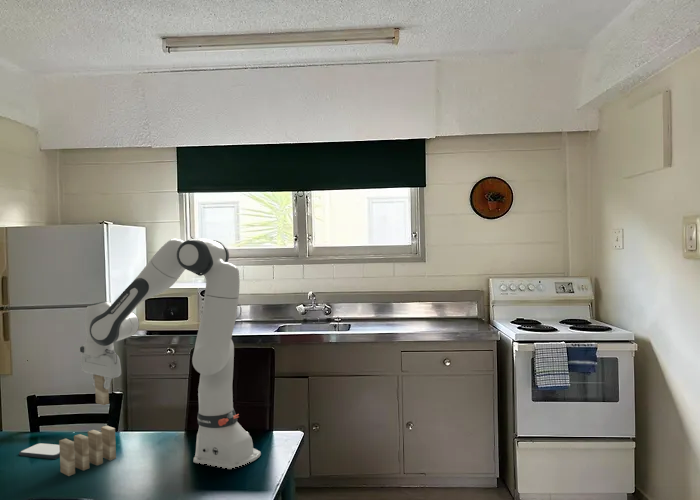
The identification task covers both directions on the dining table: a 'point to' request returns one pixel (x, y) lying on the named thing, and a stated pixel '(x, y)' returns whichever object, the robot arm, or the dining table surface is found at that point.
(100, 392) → the tile
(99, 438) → the light brown wooden block
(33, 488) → the dining table surface
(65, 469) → the tile
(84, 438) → the tile
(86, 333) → the robot arm
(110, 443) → the tan rectangular block
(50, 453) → the smartphone
